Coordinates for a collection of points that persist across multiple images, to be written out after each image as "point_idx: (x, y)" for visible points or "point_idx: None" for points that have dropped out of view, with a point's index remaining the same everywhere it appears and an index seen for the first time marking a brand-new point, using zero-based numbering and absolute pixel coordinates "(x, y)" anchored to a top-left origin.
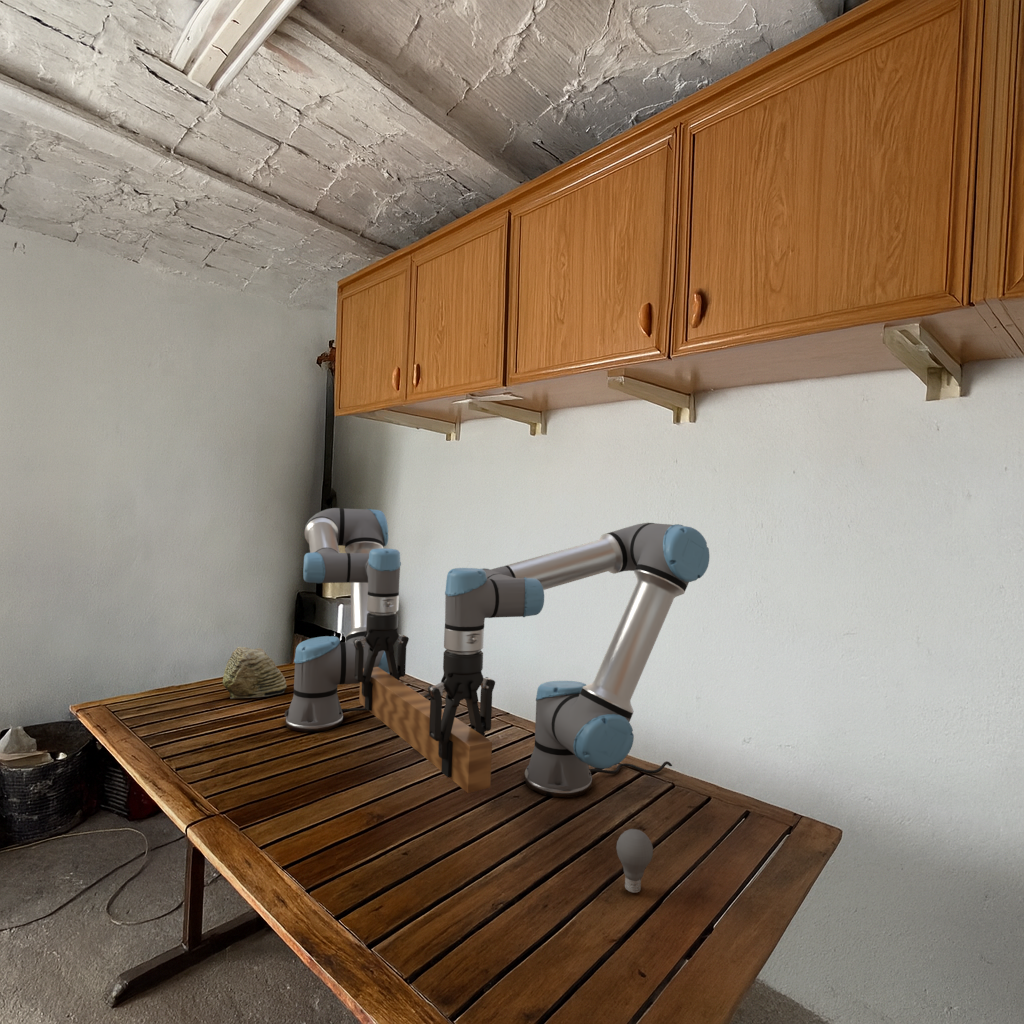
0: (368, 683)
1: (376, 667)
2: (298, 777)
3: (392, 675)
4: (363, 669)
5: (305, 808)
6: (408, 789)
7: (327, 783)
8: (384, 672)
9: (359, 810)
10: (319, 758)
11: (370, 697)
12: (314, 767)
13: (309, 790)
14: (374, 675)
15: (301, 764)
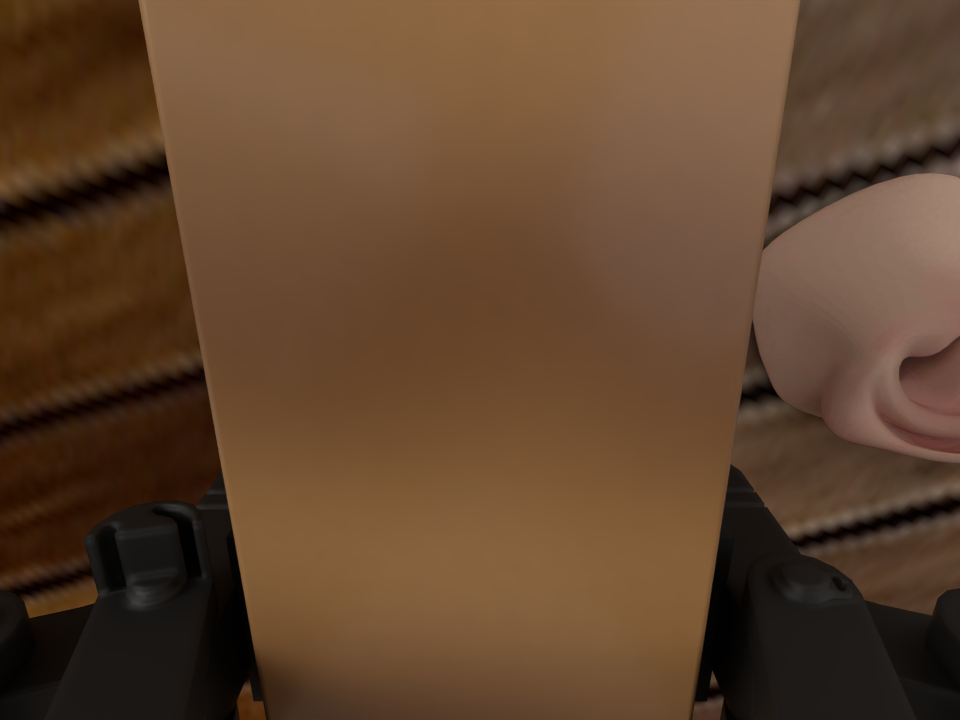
0: (244, 662)
1: (713, 21)
2: (17, 326)
3: (754, 689)
4: (218, 85)
5: (46, 609)
6: None
7: (157, 450)
8: (663, 586)
9: (246, 695)
10: (150, 119)
11: None
12: (109, 240)
13: (68, 480)
14: (358, 692)
15: (35, 161)
